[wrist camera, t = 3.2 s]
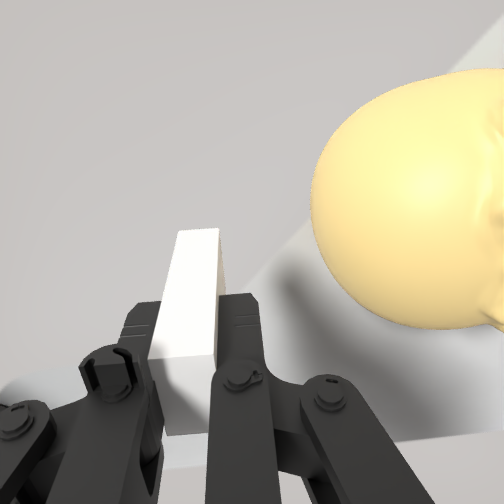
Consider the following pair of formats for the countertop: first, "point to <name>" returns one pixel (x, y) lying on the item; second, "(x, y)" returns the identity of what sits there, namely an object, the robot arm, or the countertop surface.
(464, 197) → the sculpture
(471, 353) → the countertop surface
